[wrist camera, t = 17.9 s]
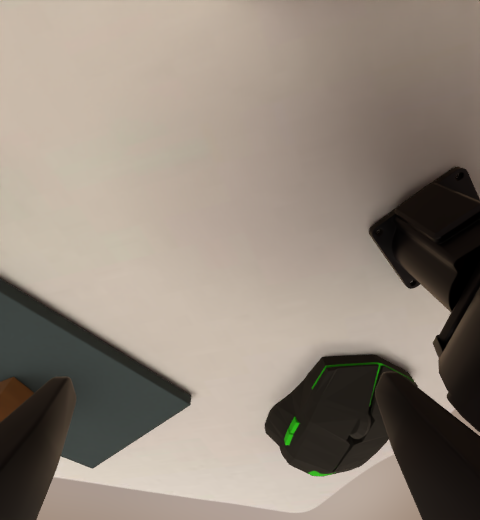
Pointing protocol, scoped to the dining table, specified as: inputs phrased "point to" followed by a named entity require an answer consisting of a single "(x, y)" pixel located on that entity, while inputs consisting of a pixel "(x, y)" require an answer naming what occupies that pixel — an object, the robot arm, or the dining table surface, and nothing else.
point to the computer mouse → (333, 415)
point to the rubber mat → (83, 378)
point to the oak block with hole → (12, 396)
